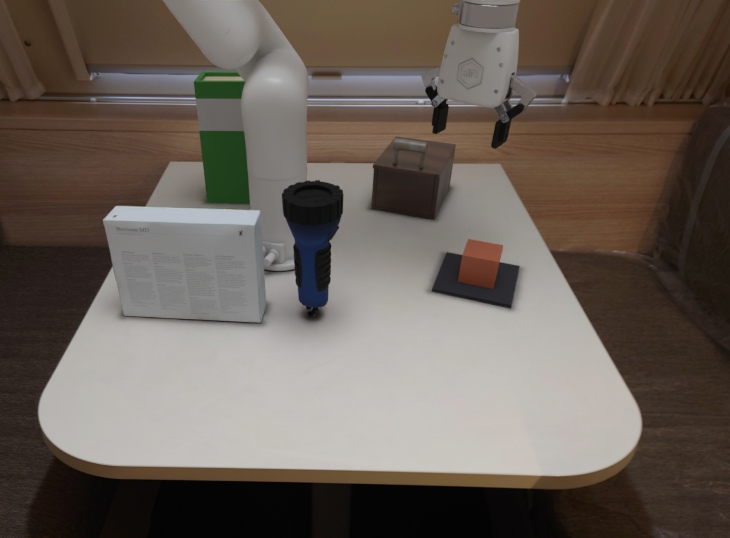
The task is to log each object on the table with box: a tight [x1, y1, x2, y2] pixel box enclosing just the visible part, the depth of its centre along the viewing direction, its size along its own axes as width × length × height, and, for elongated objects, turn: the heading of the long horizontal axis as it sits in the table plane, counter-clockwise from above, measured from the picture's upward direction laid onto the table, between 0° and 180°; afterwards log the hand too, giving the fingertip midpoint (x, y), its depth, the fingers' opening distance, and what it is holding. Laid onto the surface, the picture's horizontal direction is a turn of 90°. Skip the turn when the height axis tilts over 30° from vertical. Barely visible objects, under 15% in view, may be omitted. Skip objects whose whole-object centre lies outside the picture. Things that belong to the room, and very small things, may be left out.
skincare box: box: [102, 205, 267, 323], centre depth 83 cm, size 21×5×16 cm, turn 84°
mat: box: [431, 251, 520, 309], centre depth 93 cm, size 12×12×1 cm
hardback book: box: [193, 70, 250, 204], centre depth 113 cm, size 18×7×24 cm, turn 87°
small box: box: [458, 238, 504, 289], centre depth 91 cm, size 6×6×5 cm
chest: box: [370, 148, 456, 220], centre depth 116 cm, size 16×13×9 cm
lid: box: [372, 136, 457, 178], centre depth 112 cm, size 16×13×6 cm
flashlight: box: [282, 179, 344, 318], centre depth 80 cm, size 8×8×20 cm
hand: (467, 138), depth 88 cm, fingers open, 9 cm apart
